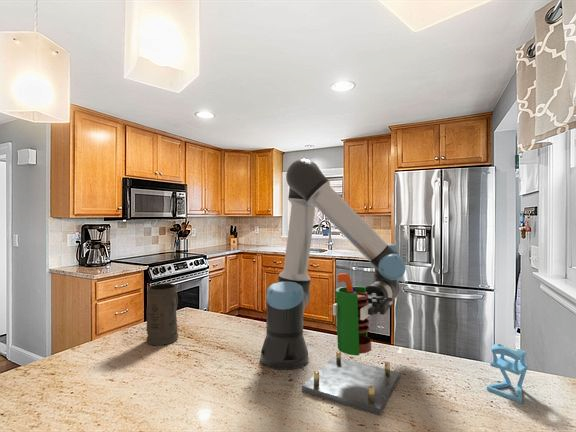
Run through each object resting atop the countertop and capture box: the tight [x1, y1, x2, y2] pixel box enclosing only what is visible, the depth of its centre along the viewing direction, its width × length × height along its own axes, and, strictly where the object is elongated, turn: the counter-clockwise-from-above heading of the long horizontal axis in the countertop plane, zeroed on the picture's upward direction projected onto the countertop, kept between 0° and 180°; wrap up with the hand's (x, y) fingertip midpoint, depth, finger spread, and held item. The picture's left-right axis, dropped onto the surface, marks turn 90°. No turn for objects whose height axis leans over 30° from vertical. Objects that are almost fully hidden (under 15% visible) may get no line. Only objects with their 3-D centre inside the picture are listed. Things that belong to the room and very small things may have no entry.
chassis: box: [301, 350, 401, 417], centre depth 88 cm, size 20×21×4 cm
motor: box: [335, 272, 372, 356], centre depth 88 cm, size 10×9×20 cm
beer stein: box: [146, 283, 179, 346], centre depth 120 cm, size 15×11×20 cm
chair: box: [486, 343, 529, 403], centre depth 85 cm, size 8×8×12 cm
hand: (347, 312), depth 84 cm, fingers closed on motor, 7 cm apart
